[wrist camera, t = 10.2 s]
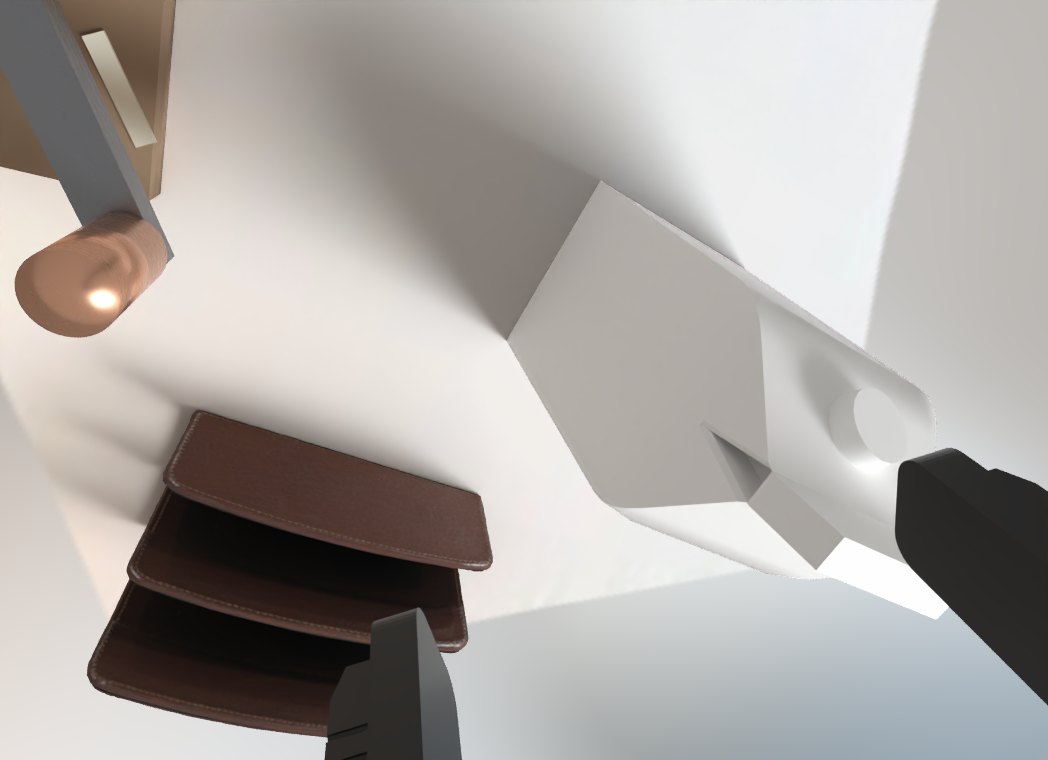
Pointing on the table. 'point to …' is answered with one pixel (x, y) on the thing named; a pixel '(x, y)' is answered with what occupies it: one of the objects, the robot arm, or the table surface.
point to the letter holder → (280, 577)
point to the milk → (722, 405)
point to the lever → (78, 181)
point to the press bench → (109, 84)
